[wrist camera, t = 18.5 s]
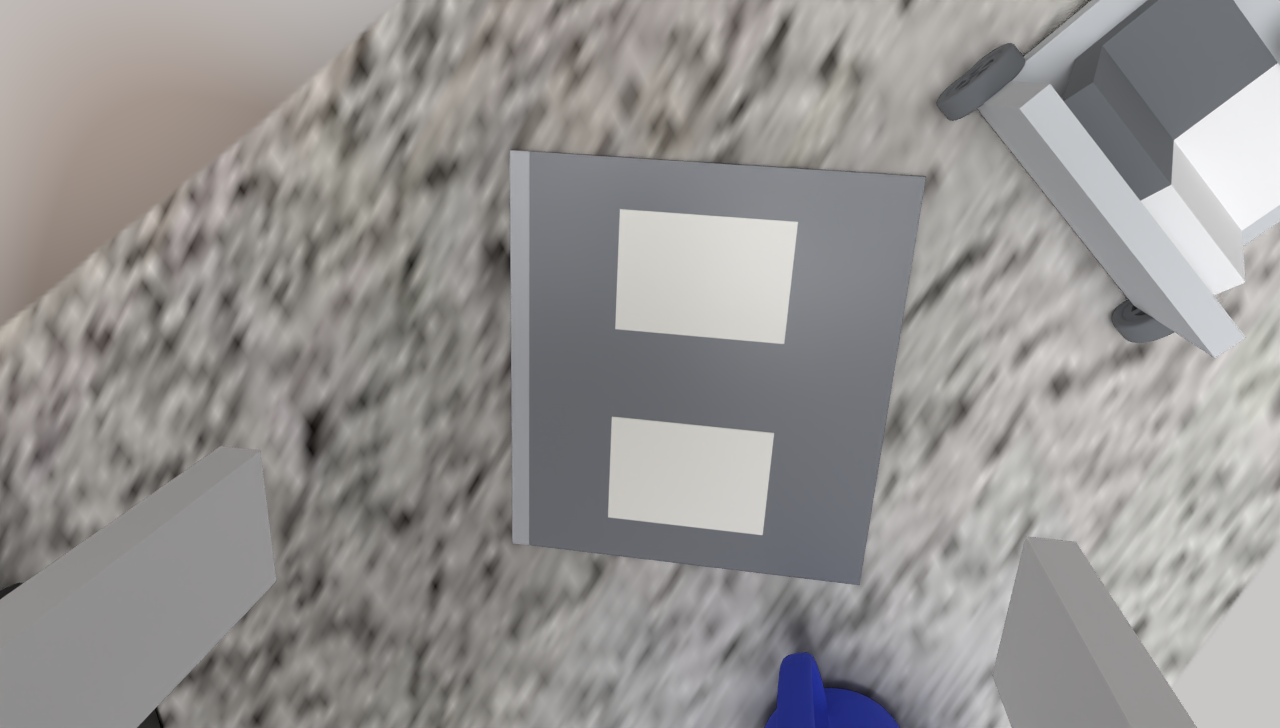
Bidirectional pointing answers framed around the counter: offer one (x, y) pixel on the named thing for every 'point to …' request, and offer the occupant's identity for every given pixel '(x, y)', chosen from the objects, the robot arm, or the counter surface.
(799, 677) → the mug
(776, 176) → the label panel
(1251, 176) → the toy car
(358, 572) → the counter surface
